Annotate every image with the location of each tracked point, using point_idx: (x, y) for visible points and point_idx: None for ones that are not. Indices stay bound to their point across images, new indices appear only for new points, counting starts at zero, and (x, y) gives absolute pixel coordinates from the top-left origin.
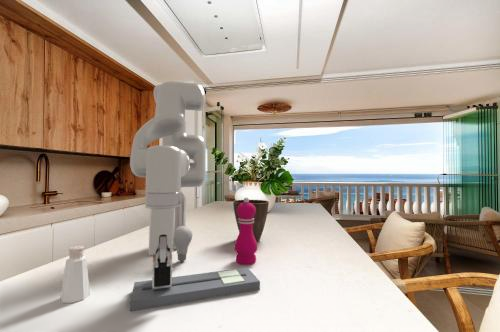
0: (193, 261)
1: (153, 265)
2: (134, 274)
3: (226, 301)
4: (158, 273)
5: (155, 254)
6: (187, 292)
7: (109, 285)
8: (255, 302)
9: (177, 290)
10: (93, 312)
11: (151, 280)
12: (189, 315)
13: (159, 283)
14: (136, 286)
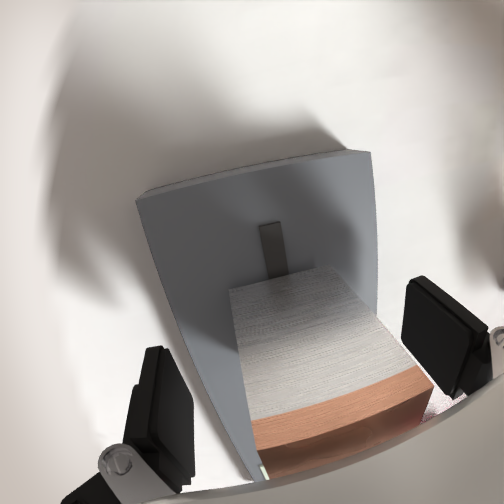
0: (495, 316)
1: (249, 396)
2: (481, 125)
3: (209, 449)
4: (125, 426)
5: (357, 432)
6: (214, 406)
7: (408, 34)
8: (202, 478)
9: (231, 379)
10: (159, 34)
11: (370, 240)
12: (130, 392)
13: (137, 385)
14: (313, 176)
